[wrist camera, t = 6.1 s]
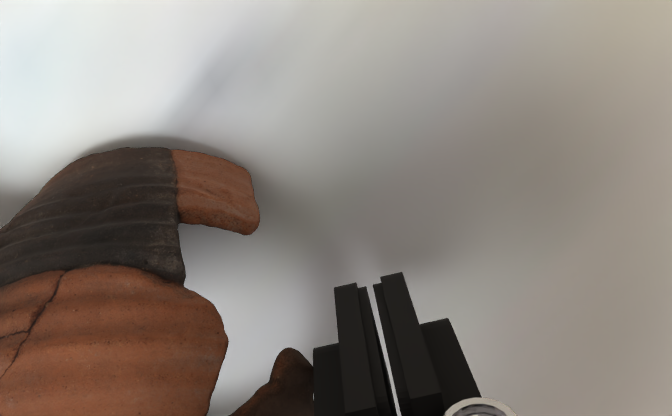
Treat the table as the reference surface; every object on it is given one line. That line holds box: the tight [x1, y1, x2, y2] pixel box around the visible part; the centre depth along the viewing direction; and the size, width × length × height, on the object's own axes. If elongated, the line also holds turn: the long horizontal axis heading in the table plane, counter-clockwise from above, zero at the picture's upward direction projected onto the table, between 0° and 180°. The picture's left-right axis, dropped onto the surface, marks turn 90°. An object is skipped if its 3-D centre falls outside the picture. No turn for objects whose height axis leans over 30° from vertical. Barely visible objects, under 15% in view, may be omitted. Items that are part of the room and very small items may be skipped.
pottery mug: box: [0, 147, 314, 416], centre depth 13 cm, size 12×10×8 cm
